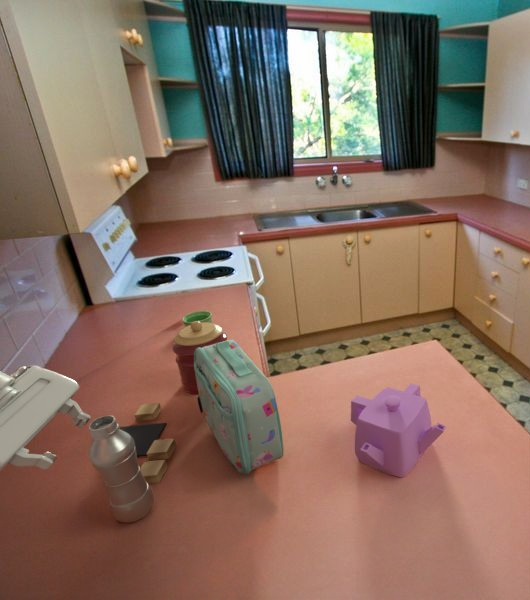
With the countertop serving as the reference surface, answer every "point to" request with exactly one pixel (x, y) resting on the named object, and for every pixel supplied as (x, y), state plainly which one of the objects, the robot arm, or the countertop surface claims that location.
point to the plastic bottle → (119, 470)
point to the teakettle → (393, 429)
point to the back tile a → (148, 412)
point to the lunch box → (238, 405)
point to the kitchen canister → (187, 345)
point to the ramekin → (197, 317)
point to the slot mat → (144, 436)
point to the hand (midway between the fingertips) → (70, 441)
